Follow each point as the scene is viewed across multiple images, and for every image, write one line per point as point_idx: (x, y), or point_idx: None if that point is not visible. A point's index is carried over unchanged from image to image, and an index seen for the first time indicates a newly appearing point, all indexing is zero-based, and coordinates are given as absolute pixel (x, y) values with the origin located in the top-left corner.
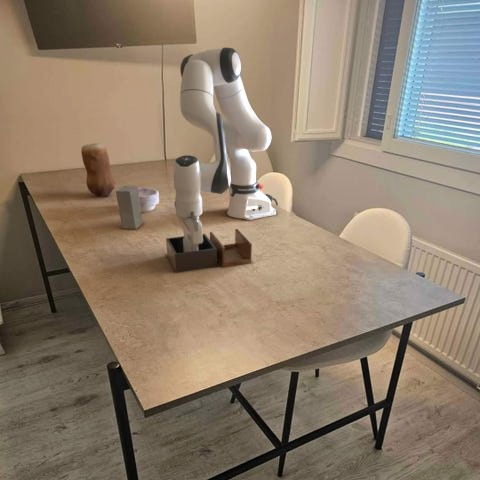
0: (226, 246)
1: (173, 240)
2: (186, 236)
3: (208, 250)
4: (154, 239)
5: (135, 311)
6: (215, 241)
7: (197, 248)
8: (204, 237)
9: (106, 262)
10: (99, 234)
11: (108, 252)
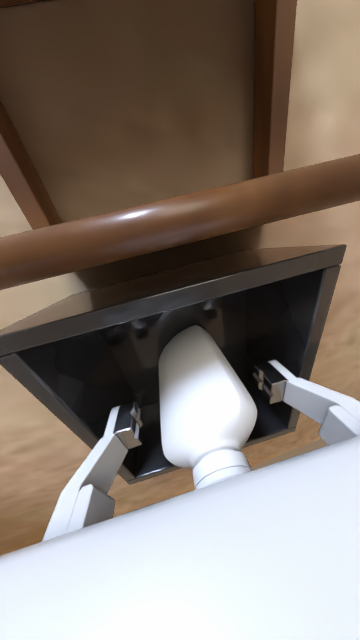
0: (3, 130)
1: (129, 455)
2: (188, 468)
3: (327, 309)
4: (15, 453)
5: None
6: (201, 239)
7: (223, 359)
8: (58, 335)
9: (173, 475)
10: (29, 522)
11: (127, 486)
